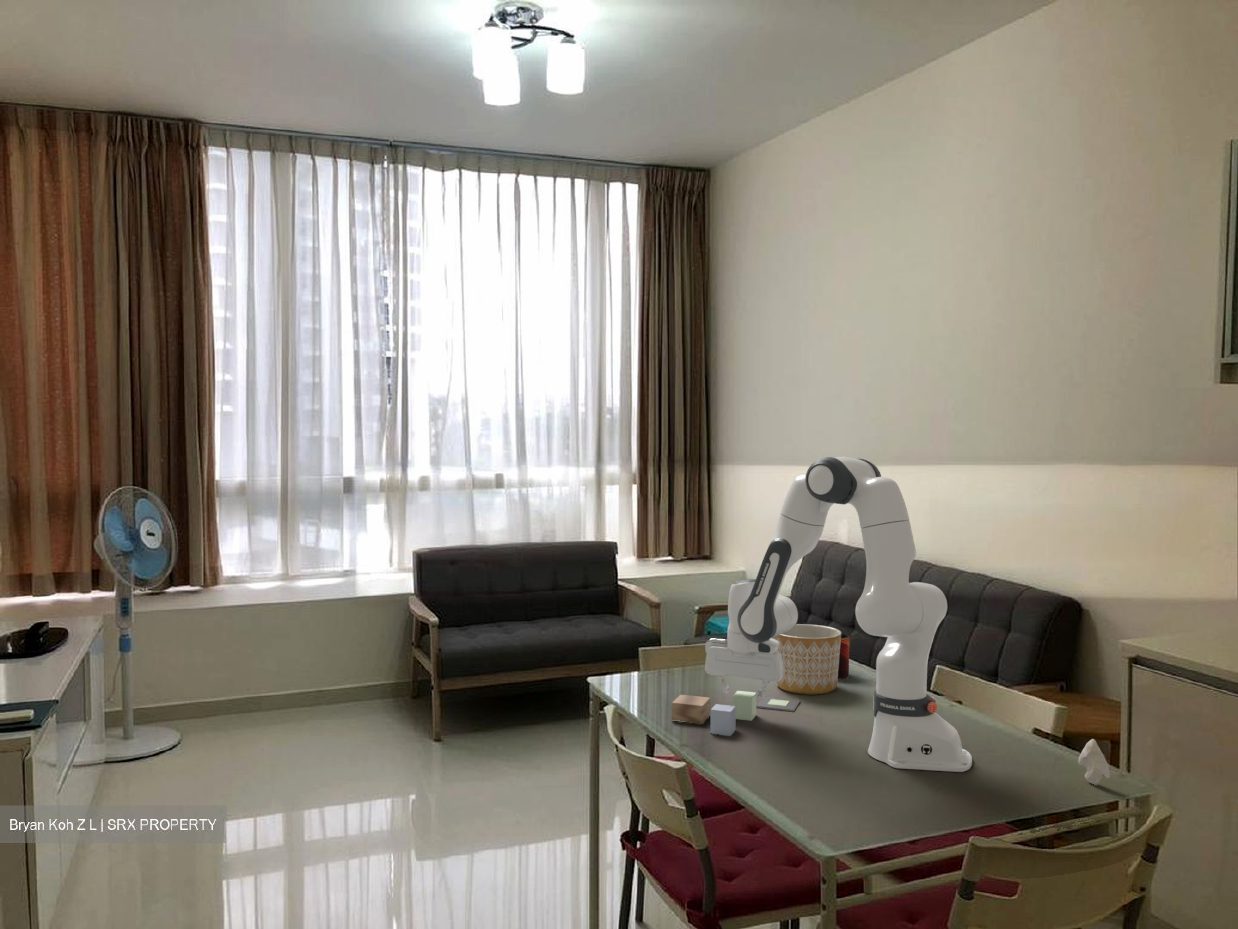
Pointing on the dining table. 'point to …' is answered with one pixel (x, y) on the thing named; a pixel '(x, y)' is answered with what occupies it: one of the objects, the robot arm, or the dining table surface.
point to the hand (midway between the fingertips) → (743, 694)
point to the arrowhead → (1094, 762)
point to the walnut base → (691, 709)
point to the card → (778, 703)
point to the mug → (844, 657)
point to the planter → (809, 659)
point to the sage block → (745, 705)
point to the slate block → (723, 720)
